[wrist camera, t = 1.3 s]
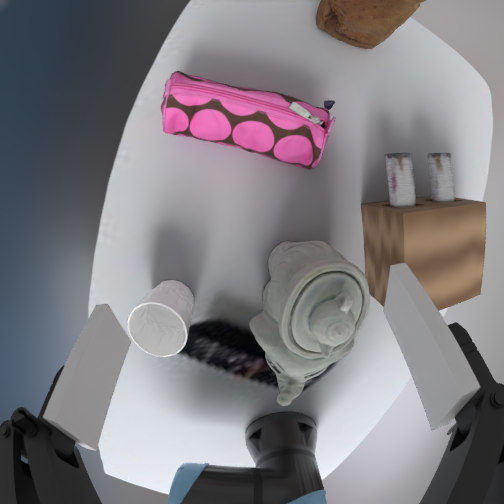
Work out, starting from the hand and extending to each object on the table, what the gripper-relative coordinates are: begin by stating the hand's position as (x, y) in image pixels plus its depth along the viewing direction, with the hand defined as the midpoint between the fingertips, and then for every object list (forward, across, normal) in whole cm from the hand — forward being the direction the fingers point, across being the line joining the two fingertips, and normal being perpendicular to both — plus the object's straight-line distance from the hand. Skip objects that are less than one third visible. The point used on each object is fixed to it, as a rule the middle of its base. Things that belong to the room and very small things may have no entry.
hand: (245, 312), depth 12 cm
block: (+38, -19, -20) cm, 47 cm away
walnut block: (+27, -23, +16) cm, 39 cm away
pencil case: (+32, 0, -5) cm, 32 cm away
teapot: (+24, -3, +20) cm, 31 cm away
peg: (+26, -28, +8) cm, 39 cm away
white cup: (+23, +15, +17) cm, 33 cm away
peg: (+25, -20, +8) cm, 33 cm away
